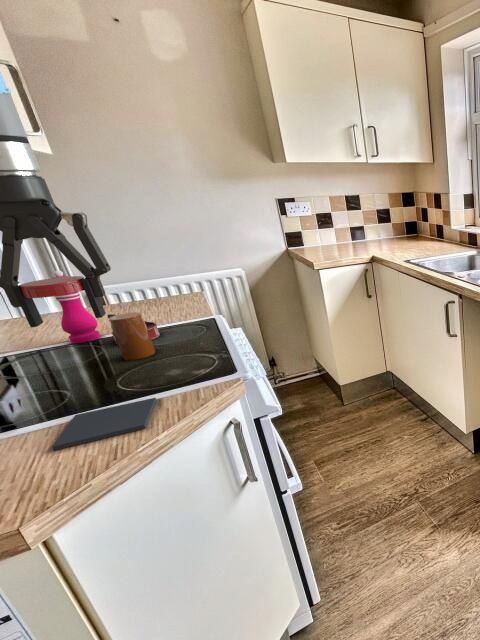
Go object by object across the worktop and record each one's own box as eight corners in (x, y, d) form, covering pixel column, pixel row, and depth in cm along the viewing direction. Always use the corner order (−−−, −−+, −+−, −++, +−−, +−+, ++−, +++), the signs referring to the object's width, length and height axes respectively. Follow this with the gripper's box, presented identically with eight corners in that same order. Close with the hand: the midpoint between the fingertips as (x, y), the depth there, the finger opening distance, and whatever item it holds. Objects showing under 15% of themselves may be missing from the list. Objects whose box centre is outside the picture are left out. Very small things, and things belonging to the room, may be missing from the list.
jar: (120, 362, 104) (104, 321, 100) (126, 354, 109) (111, 315, 105) (153, 356, 107) (138, 316, 103) (157, 348, 112) (143, 310, 108)
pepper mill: (106, 338, 122) (78, 269, 114) (72, 346, 116) (41, 274, 109) (98, 333, 125) (71, 267, 118) (65, 341, 120) (34, 271, 113)
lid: (14, 297, 67) (8, 285, 66) (70, 286, 74) (66, 275, 73) (42, 299, 65) (37, 287, 64) (98, 287, 72) (94, 276, 71)
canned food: (123, 354, 121) (108, 323, 121) (165, 342, 127) (151, 311, 126) (114, 347, 112) (97, 313, 111) (160, 334, 118) (144, 301, 117)
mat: (53, 450, 69) (51, 446, 69) (76, 418, 79) (75, 414, 79) (145, 428, 75) (144, 424, 75) (157, 400, 85) (155, 397, 84)
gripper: (-116, 176, 55) (-29, 339, 63) (89, 172, 65) (141, 314, 73) (-81, 177, 61) (-6, 326, 69) (102, 173, 71) (149, 305, 79)
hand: (69, 320), depth 71 cm, fingers closed on lid, 7 cm apart
